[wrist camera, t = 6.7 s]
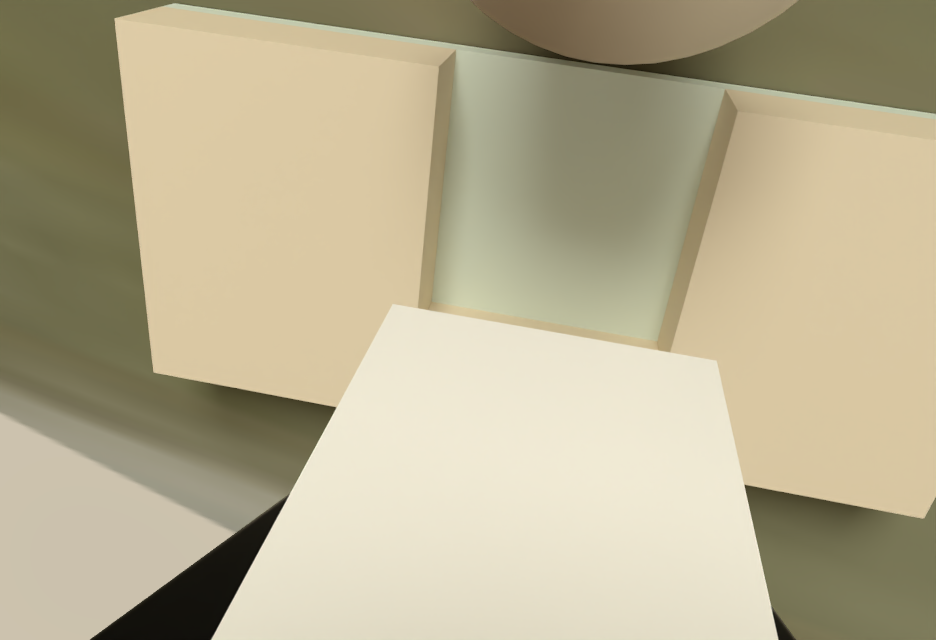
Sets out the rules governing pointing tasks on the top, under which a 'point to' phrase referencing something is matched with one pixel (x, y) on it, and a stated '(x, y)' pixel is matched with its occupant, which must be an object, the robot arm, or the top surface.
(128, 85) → the notched board
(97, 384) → the top surface
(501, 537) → the block
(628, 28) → the bobbin
